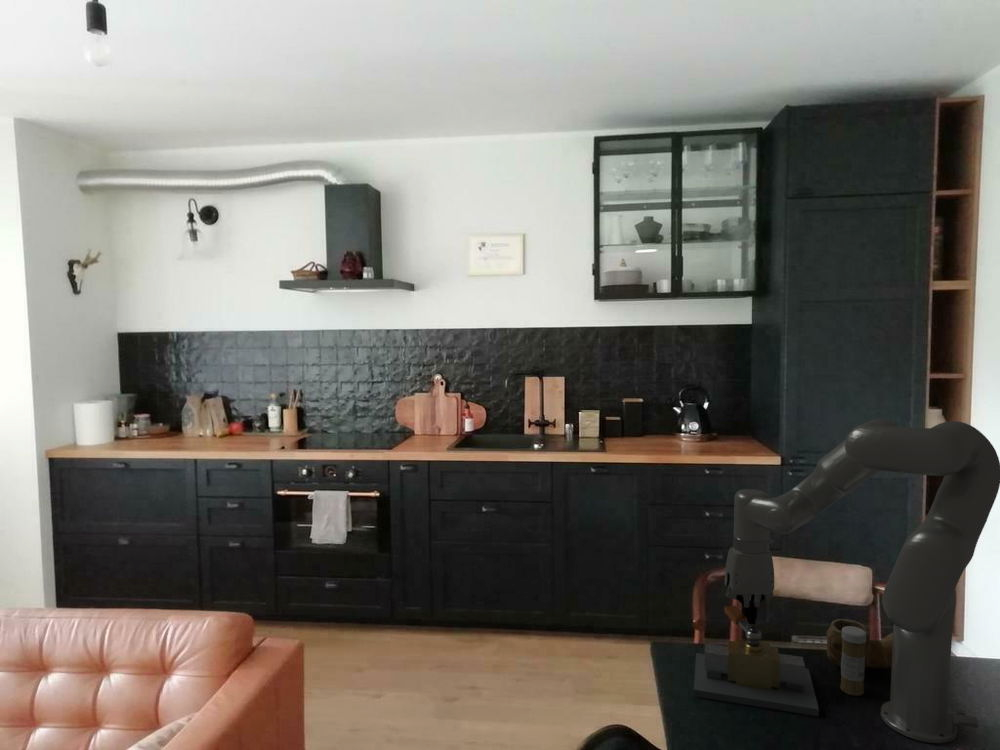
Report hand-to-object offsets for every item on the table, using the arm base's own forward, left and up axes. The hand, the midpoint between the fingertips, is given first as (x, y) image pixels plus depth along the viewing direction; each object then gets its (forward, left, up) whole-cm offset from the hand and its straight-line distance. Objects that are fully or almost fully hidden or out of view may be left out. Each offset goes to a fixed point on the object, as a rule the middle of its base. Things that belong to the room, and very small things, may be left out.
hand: (748, 621), depth 153 cm
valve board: (-1, +10, -10) cm, 14 cm away
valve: (-1, +10, -8) cm, 13 cm away
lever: (+2, +5, +1) cm, 5 cm away
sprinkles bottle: (-21, +6, -10) cm, 24 cm away
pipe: (-25, -4, -10) cm, 27 cm away
